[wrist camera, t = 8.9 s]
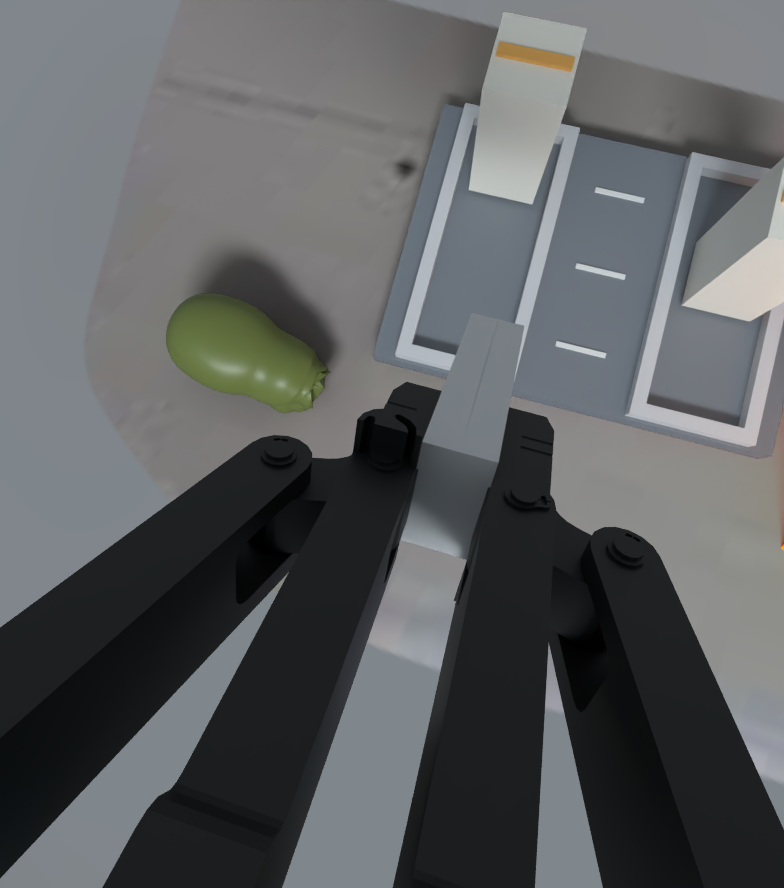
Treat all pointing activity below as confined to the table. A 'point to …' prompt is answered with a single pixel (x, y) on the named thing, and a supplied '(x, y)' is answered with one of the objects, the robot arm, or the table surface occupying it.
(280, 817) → the robot arm
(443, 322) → the tray
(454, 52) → the table surface
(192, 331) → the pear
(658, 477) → the table surface
